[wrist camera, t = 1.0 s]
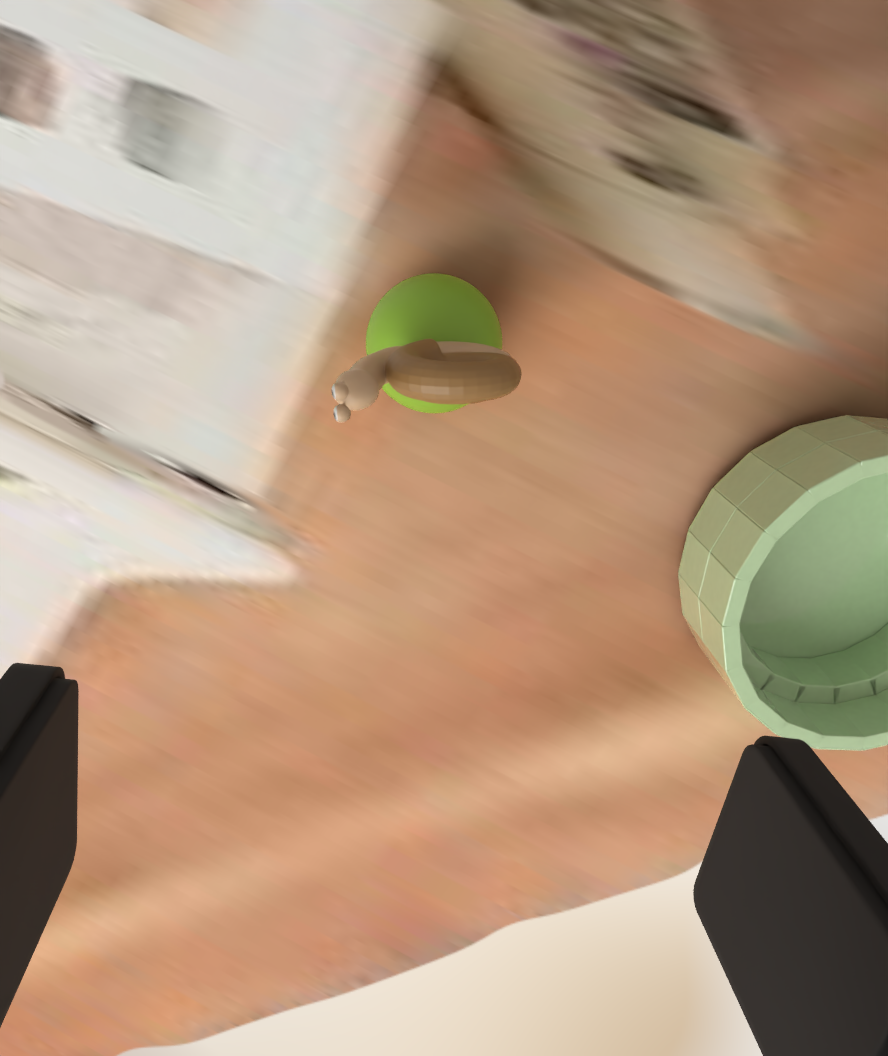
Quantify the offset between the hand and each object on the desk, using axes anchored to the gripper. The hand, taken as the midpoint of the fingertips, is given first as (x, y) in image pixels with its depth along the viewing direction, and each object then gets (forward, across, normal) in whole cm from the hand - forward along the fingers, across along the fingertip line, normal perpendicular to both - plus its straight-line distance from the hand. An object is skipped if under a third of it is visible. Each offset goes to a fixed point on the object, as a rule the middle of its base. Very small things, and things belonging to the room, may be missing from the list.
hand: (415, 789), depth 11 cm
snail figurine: (+26, -1, -2) cm, 27 cm away
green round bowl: (+26, -23, +5) cm, 35 cm away
